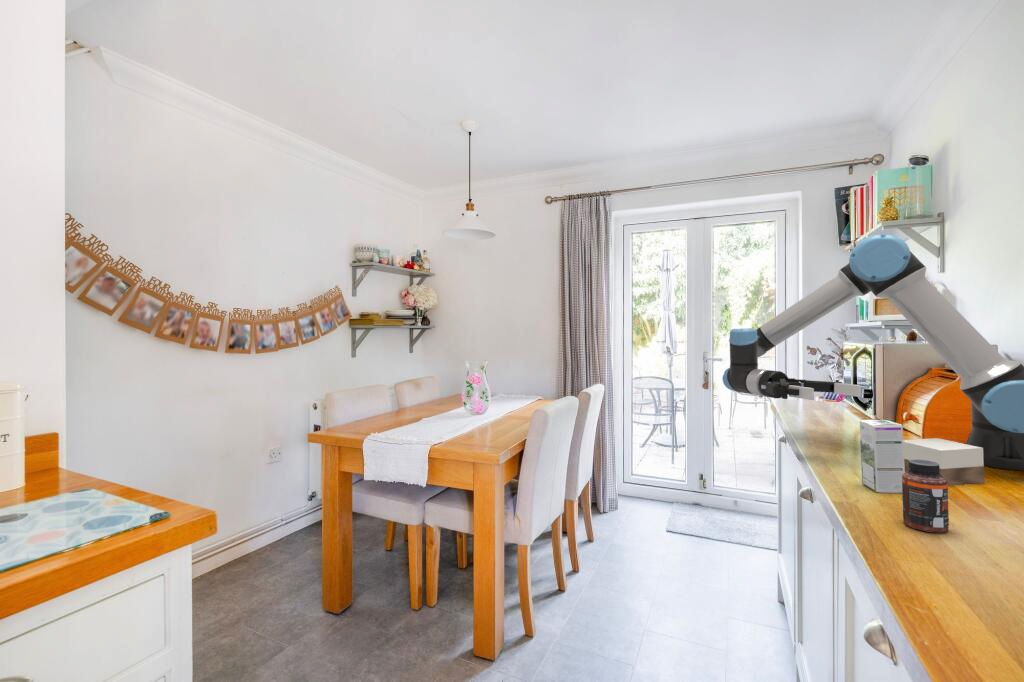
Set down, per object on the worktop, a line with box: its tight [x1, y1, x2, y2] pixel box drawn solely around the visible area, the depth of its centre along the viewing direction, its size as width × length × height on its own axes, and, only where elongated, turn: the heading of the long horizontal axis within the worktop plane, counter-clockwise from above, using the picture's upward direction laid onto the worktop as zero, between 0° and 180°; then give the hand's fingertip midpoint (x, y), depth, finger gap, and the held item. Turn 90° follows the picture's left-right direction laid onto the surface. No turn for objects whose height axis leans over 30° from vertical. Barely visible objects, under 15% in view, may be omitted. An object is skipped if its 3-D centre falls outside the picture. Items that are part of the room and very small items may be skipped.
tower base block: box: [904, 459, 985, 487], centre depth 105 cm, size 10×10×4 cm
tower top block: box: [903, 437, 985, 469], centre depth 105 cm, size 10×10×4 cm
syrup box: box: [859, 419, 905, 494], centre depth 100 cm, size 6×6×14 cm
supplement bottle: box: [901, 460, 950, 534], centre depth 80 cm, size 6×6×11 cm
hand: (836, 392), depth 109 cm, fingers open, 13 cm apart
